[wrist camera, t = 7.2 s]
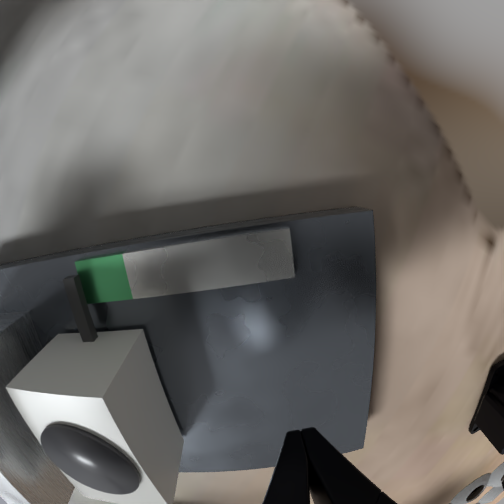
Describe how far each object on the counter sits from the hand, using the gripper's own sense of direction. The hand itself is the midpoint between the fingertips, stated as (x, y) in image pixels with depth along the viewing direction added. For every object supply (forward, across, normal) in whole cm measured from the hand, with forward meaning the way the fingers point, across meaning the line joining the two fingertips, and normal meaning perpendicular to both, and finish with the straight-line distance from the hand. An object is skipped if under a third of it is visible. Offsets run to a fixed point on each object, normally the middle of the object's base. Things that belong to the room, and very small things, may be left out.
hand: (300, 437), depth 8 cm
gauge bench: (+5, +5, 0) cm, 7 cm away
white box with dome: (+3, +8, -1) cm, 8 cm away
